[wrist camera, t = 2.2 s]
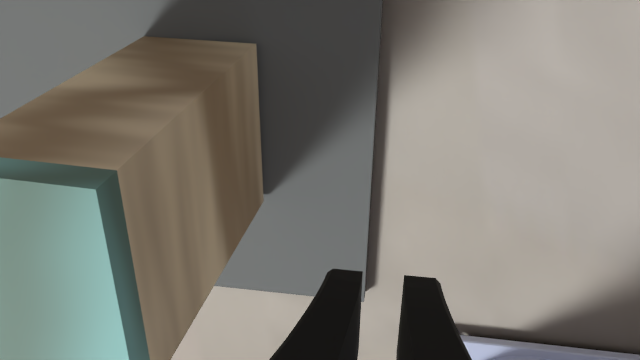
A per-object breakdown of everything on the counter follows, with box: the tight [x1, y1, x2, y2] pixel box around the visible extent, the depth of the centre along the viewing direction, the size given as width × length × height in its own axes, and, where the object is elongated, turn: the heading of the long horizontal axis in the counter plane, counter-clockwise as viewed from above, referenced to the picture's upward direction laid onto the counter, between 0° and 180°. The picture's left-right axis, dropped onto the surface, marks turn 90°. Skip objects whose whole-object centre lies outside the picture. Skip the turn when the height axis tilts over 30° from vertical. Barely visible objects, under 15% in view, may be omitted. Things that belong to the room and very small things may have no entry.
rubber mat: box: [0, 0, 383, 302], centre depth 23 cm, size 18×15×1 cm
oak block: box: [0, 36, 264, 360], centre depth 18 cm, size 4×6×10 cm, turn 0°
